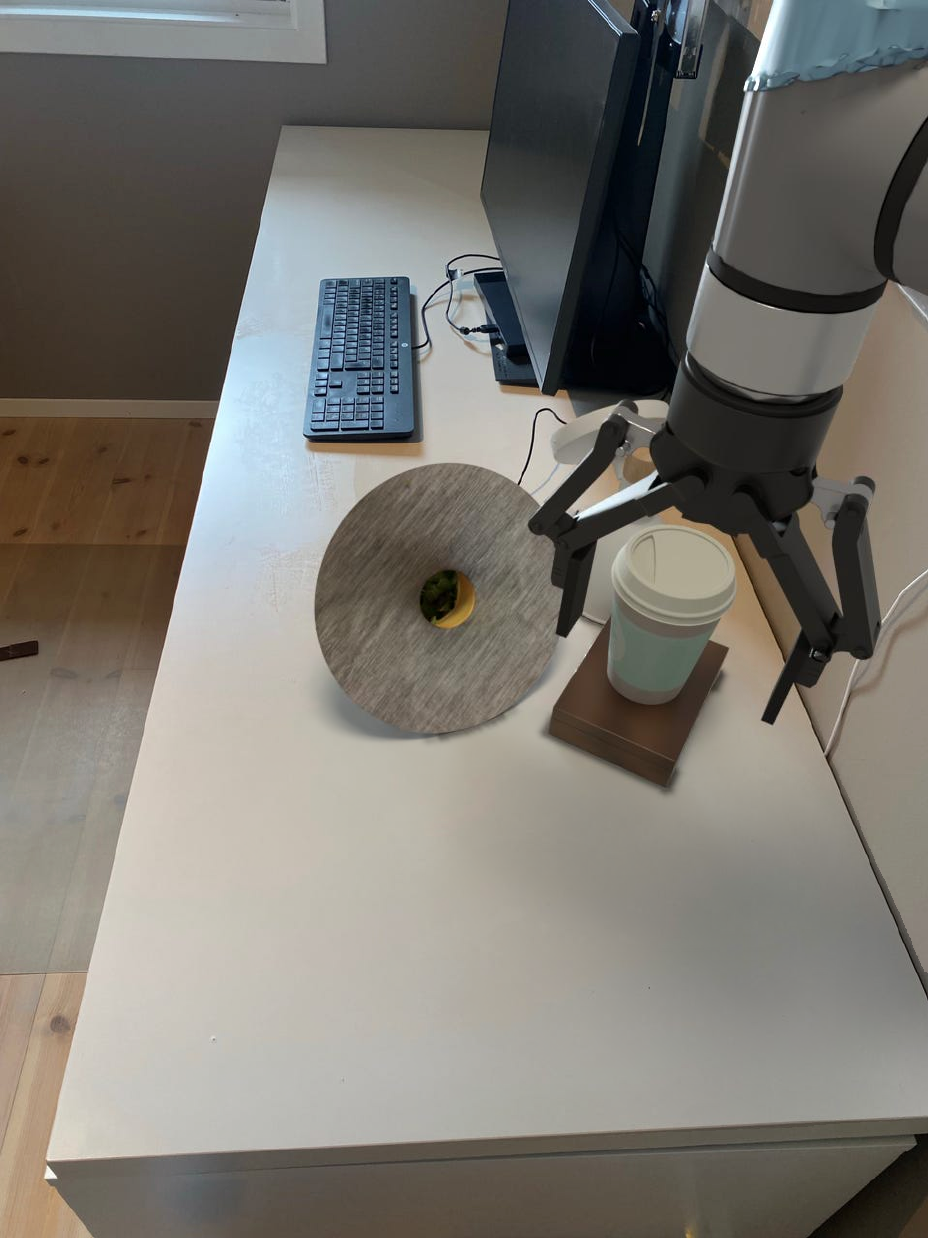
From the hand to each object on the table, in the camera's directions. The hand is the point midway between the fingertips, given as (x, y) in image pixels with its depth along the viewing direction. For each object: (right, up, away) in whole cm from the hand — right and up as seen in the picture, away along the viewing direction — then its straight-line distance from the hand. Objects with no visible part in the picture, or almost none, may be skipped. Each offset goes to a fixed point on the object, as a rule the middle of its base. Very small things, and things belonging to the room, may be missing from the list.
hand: (667, 664), depth 57 cm
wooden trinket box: (+4, -5, +32) cm, 33 cm away
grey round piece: (-16, -1, +35) cm, 39 cm away
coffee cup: (+4, -3, +30) cm, 30 cm away
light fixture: (+3, +8, +45) cm, 46 cm away
